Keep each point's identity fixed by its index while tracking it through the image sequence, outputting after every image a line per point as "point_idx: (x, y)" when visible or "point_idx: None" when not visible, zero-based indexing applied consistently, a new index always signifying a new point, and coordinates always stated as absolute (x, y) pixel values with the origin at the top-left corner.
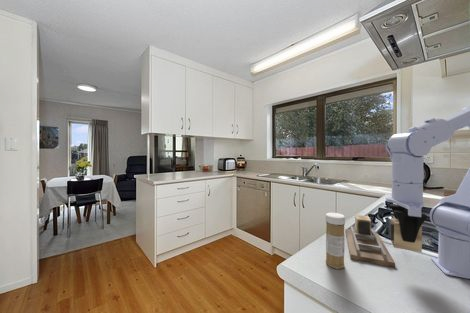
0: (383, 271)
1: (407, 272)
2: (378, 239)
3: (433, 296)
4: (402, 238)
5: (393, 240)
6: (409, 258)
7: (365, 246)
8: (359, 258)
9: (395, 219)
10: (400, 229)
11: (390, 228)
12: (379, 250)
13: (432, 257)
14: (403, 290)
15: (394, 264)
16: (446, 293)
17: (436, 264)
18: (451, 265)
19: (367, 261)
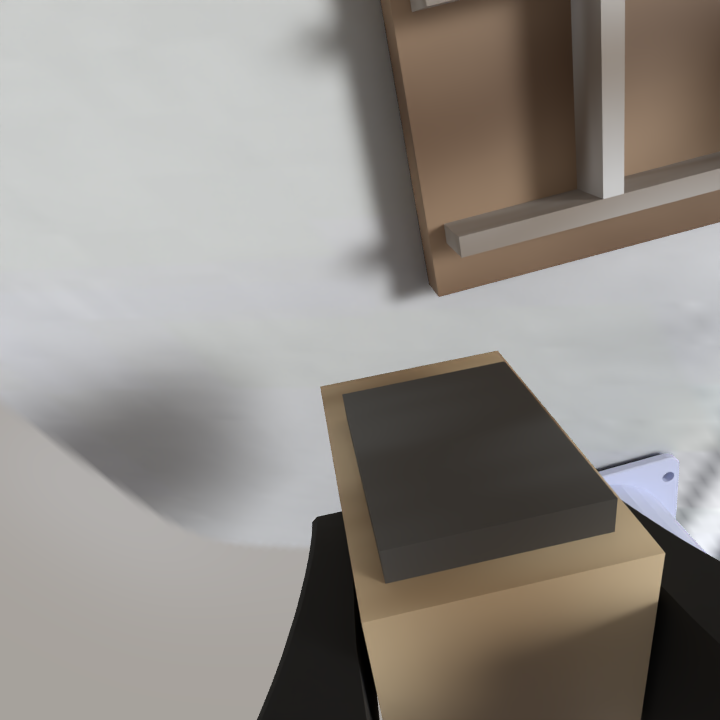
0: (311, 218)
1: (403, 349)
2: None
3: (200, 454)
4: (316, 530)
5: (345, 418)
6: (627, 355)
7: (593, 55)
8: (388, 14)
9: (599, 605)
10: (336, 604)
11: (401, 478)
12: (585, 185)
13: (675, 463)
14: (136, 337)
15: (436, 288)
16: (282, 495)
17: None
18: None
19: (397, 91)
